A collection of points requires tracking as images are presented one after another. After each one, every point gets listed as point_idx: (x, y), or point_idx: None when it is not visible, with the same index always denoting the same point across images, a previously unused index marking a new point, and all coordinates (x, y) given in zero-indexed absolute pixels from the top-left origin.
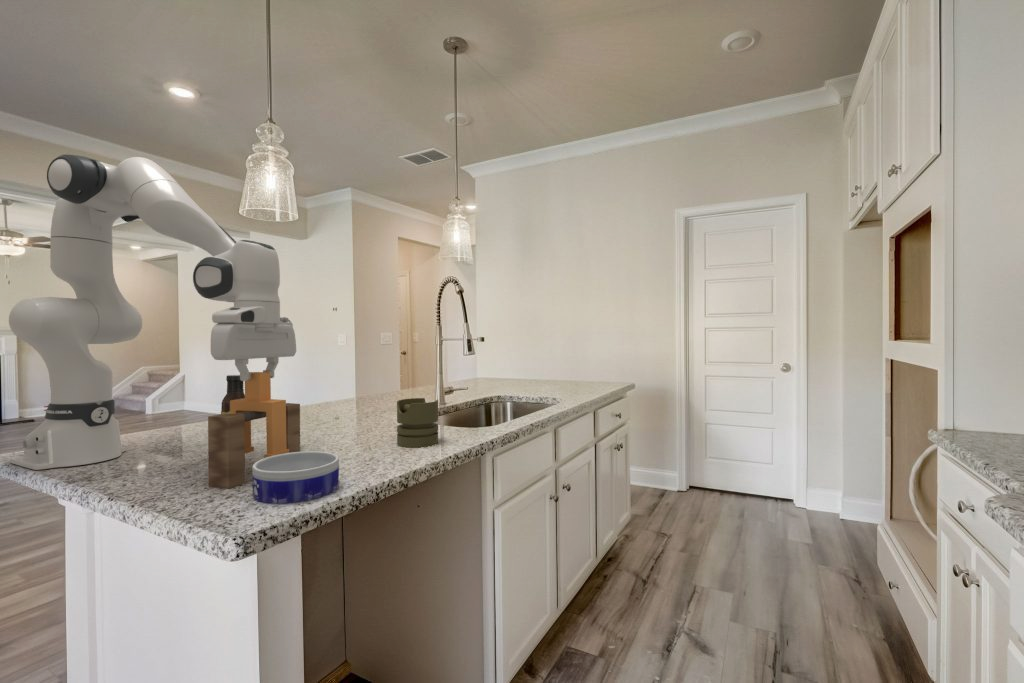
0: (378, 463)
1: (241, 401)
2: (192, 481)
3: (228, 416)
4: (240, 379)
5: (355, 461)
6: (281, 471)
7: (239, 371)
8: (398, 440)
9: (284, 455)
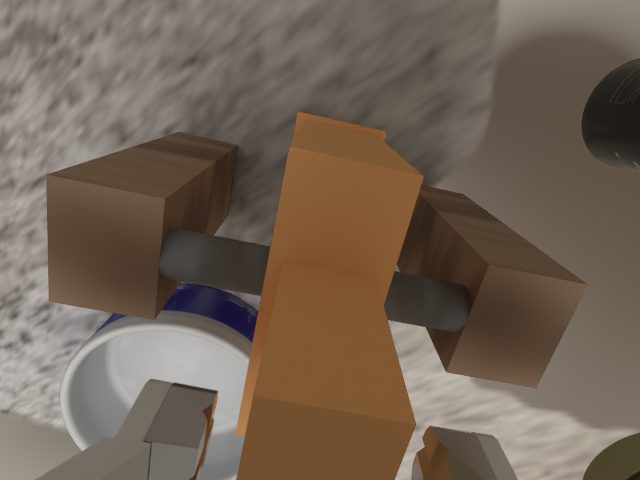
0: (423, 446)
1: (271, 244)
2: (219, 35)
3: (79, 280)
4: (149, 382)
5: (447, 392)
6: (70, 427)
7: (93, 450)
8: (630, 455)
9: (232, 353)
